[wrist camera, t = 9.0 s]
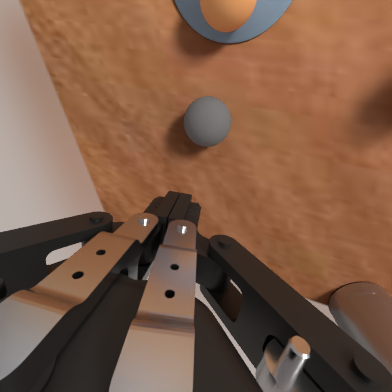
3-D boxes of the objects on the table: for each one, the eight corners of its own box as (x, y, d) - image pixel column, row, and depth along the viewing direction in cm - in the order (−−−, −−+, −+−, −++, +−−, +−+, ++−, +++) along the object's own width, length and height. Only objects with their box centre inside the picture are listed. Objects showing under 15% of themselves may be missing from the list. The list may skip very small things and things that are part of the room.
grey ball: (241, 133, 21) (240, 110, 25) (202, 97, 19) (207, 78, 22) (207, 163, 24) (210, 139, 28) (170, 135, 22) (179, 113, 26)
